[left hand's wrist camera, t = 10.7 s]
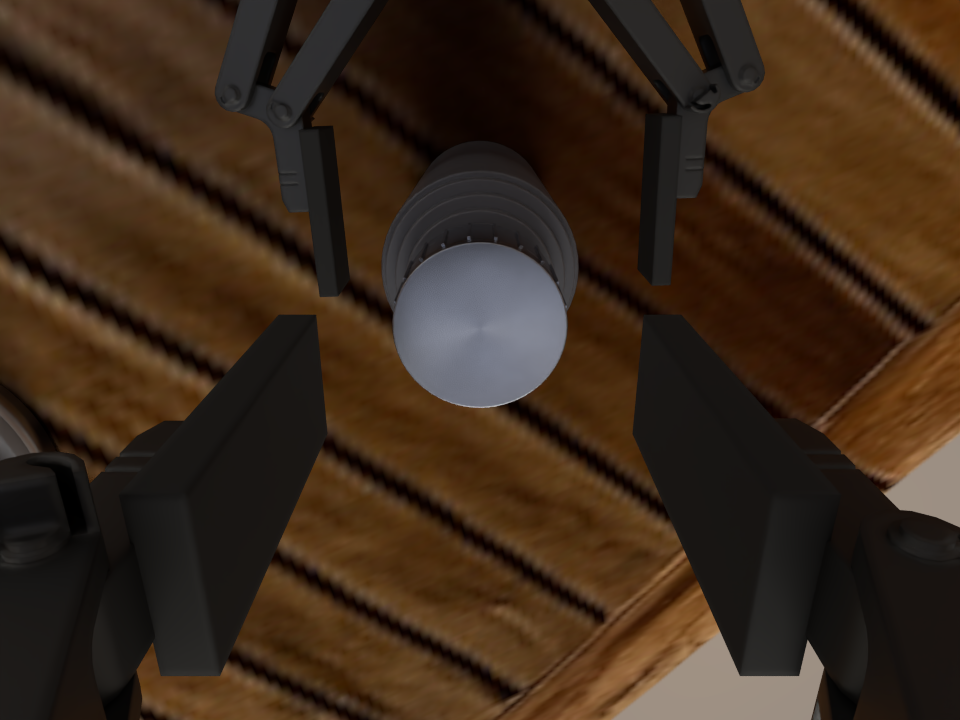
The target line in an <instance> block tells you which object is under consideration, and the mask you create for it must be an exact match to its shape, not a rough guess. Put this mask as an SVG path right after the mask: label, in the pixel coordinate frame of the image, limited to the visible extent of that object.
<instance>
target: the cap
mask: <svg viewBox="0 0 960 720" xmlns="http://www.w3.org/2000/svg"><path fill="white" fill-rule="evenodd" d="M403 281H404V282H402V283H401V285H400V288H399V290H398V293H397V295H396V298H395V300H394V304H395V307H394V312H393V320H392V322H393V325H392V328H393V337H394V343H395V346H396V349H397V353H398V355H399V357H400V359H401V362H402V363H403V365H404V367H405V368H406V370H407V371H408V373H409V374H410V375H411V376H412V377H413V379H414V380H415V381H416V382H417V383H418V384H419V385H421V386H422V387H423V388H424V389H426V390H427V391H428V392H430V393H431V394H433V395H435V396H436V397H438V398H440V399H442V400H445V401H447V402H450V403H453V404H456V405H460V406H466V407H477V408H485V407H495V406H499V405H504V404H507V403H510V402H513V401H516V400H518V399H520V398H522V397H524V396H526V395H527V394H529V393H530V392H532V391H533V390H535V389H536V388H537V387H538V386H539V385H541V384H542V383H543V382H544V381H545V380H546V379H547V377H548V376H549V375H550V374H551V372H552V371H553V370H554V368H555V367H556V365H557V363H558V361H559V359H560V358H561V355H562V352H563V350H564V347H565V342H566V338H567V328H568V323H567V312H566V308H567V305H566V302H565V300H564V297H563V295H562V292H561V290H560V287H559V286H558V285H559V284H560V283H559V281H558V278H557V276H556V274H555V271H554V269H553V266H552V264H550V265H549V263H548V261H547V260H546V258H545V257H544V256H543V254H542V253H541V251H540V249H539V246H538V245H536V246H535V245H534V244H532V243H531V242H530V241H529V240H528V239H526V238H525V237H523V236H522V235H520V233H519V232H518V231H516V232H514V231H512V230H510V229H507V228H504V227H501V226H497V225H496V223H493V225H491V224H471V223H468V225H464V226H459V227H456V228H453V229H450V230H448V229H446V230H444V233H442V234H440V235H438V236H437V237H435V238H434V239H432V240H431V241H430V242H429V243H427V242H426V243H425V244H424V246H423V248H422V249H421V251H420V252H419V253H418V254H417V255H416V257H415V258H414V260H413V261H412V260H411V261H410V262H409V265H408V267H407V270H406V272H405V275H404V277H403Z"/></svg>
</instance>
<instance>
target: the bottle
mask: <svg viewBox="0 0 960 720" xmlns="http://www.w3.org/2000/svg"><path fill="white" fill-rule="evenodd" d="M468 223H471V224H491V225H493V223H496V225H497V226H501V227H504V228H507V229H510V230H512V231H514V232H516V231H518V232H519V233H520V235H522V236H523V237H525V238H526V239H528V240H529V241H530V242H531V243H532V244H534V245H535V246H536V245H538V246H539V249H540V251H541V253H542V254H543V256H544V257H545V258H546V260H547V261H548V263H549V265H550V264H552V266H553V269H554V271H555V274H556V276H557V278H558V281H559V283H560V284H559V285H558V286H559V287H560V290H561V292H562V295H563V297H564V300H565V302H566V305H567V308H566V312H567V310H568V308H569V306H570V304H571V302H572V299H573V296H574V294H575V289H576V285H577V280H578V253H577V248H576V243H575V240H574V237H573V234H572V231H571V229H570V227H569V224H568V222H567V220H566V219H565V217H564V216H563V214H562V213H561V211H560V209H559V208H558V206H557V205H556V203H555V202H554V200H553V199H552V197H551V196H550V194H549V193H548V191H547V190H546V188H545V187H544V185H543V184H542V182H541V181H540V179H539V178H538V176H537V175H536V173H535V172H534V170H533V169H532V167H531V166H530V165H529V163H528V162H527V161H526V160H525V159H524V158H523V157H522V156H520V155H519V154H518V153H517V152H515V151H514V150H512V149H510V148H508V147H506V146H504V145H501V144H498V143H495V142H489V141H471V142H466V143H462V144H459V145H456V146H454V147H452V148H450V149H448V150H446V151H445V152H443V153H442V154H441V155H439V156H438V157H437V158H436V159H435V160H434V161H433V162H432V163H431V165H430V166H429V167H428V169H427V170H426V171H425V173H424V174H423V176H422V177H421V179H420V180H419V182H418V184H417V185H416V187H415V188H414V190H413V191H412V193H411V194H410V196H409V197H408V199H407V200H406V202H405V203H404V205H403V206H402V208H401V209H400V211H399V212H398V214H397V215H396V217H395V219H394V221H393V222H392V224H391V226H390V229H389V231H388V234H387V236H386V240H385V244H384V247H383V254H382V279H383V285H384V289H385V293H386V296H387V299H388V302H389V304H390V306H391V308H392V311H393V312H394V307H395V304H394V300H395V298H396V295H397V293H398V290H399V288H400V285H401V283H402V282H404V281H403V277H404V275H405V272H406V270H407V267H408V265H409V262H410V261H411V260H412V261H413V260H414V258H415V257H416V255H417V254H418V253H419V252H420V251H421V249H422V248H423V246H424V244H425V243H426V242H427V243H429V242H430V241H431V240H432V239H434V238H435V237H437V236H438V235H440V234H442V233H444V230H446V229H448V230H450V229H453V228H456V227H459V226H464V225H468Z"/></svg>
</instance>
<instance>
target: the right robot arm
mask: <svg viewBox="0 0 960 720" xmlns="http://www.w3.org/2000/svg"><path fill="white" fill-rule="evenodd" d="M387 2H388V0H331V1H330V3H329V5H328V6H327V8H326V9H325V11H324V13H323V14H322V16H321V17H320V19H319V21H318V22H317V24H316V25H315V27H314V29H313V30H312V32H311V33H310V35H309V36H308V38H307V40H306V41H305V43H304V44H303V46H302V48H301V49H300V51H299V52H298V54H297V56H296V57H295V59H294V60H293V62H292V64H291V65H290V67H289V68H288V70H287V72H286V73H285V75H284V76H283V78H282V80H281V81H280V83H279V84H278V86H277V87H274V86H271V83H272V80H273V76H274V73H275V70H276V67H277V64H278V61H279V57H280V54H281V51H282V48H283V45H284V41H285V38H286V35H287V32H288V29H289V26H290V22H291V19H292V16H293V13H294V10H295V6H296V3H297V0H240V3H239V7H238V10H237V14H236V17H235V21H234V24H233V28H232V31H231V35H230V38H229V42H228V45H227V49H226V52H225V56H224V59H223V63H222V66H221V70H220V73H219V77H218V80H217V84H216V87H215V96H216V100H217V102H218V103H219V104H220V106H221V107H223V108H224V109H225V110H227V111H232V112H239V113H242V114H245V115H248V116H251V117H254V118H257V119H259V120H261V121H263V122H264V123H265V124H266V125H267V126H268V127H269V128H270V130H271V132H272V134H273V138H274V145H275V152H276V159H277V166H278V173H279V180H280V184H281V186H280V187H281V194H282V200H283V202H284V204H285V206H286V207H287V209H288V211H289V212H309V216H310V224H311V232H312V240H313V247H314V255H315V263H316V271H317V278H318V286H319V294H320V297H334V296H339V294H340V293H341V291H342V290H343V288H344V287H345V286H346V284H347V283H348V281H349V280H350V276H349V267H348V258H347V249H346V240H345V231H344V222H343V213H342V204H341V195H340V186H339V176H338V167H337V158H336V149H335V140H334V131H333V126H314V127H312V123H311V122H312V121H313V120H314V119H315V118H313V117H312V116H313V115H314V113H315V112H316V110H317V109H318V107H319V106H320V104H321V103H322V101H323V100H324V98H325V97H326V95H327V93H328V92H329V90H330V89H331V87H332V86H333V84H334V83H335V81H336V80H337V78H338V77H339V75H340V74H341V72H342V71H343V69H344V67H345V66H346V64H347V63H348V61H349V60H350V58H351V57H352V55H353V54H354V52H355V51H356V49H357V48H358V46H359V45H360V43H361V41H362V40H363V38H364V37H365V35H366V34H367V32H368V31H369V29H370V28H371V26H372V25H373V23H374V22H375V20H376V19H377V17H378V16H379V14H380V12H381V11H382V9H383V8H384V6H385V5H386V3H387ZM589 2H590V3H591V4H592V6H593V7H594V8H595V10H596V11H597V12H598V14H599V15H600V16H601V18H602V19H603V20H604V22H605V23H606V24H607V26H608V27H609V28H610V30H611V31H612V32H613V34H614V35H615V36H616V38H617V39H618V40H619V41H620V43H621V44H622V45H623V47H624V48H625V49H626V51H627V52H628V53H629V55H630V56H631V57H632V59H633V60H634V61H635V63H636V64H637V65H638V67H639V68H640V69H641V71H642V72H643V73H644V75H645V76H646V77H647V79H648V80H649V81H650V83H651V84H652V85H653V87H654V88H655V89H656V91H657V92H658V93H659V95H660V96H661V97H662V98H663V100H664V101H665V102H666V104H667V105H668V107H667V114H666V113H657V114H646V119H645V138H644V157H643V176H642V195H641V214H640V233H639V252H638V270H639V271H640V272H641V274H642V275H643V276H644V277H645V278H646V279H647V280H648V282H649V283H650V284H651V285H652V286H653V285H670V284H671V270H672V256H673V242H674V228H675V214H676V200H677V198H696V196H697V194H698V192H699V190H700V188H701V186H702V180H703V168H704V156H705V145H706V133H707V122H708V117H709V115H710V112H711V111H712V110H713V109H714V108H715V107H716V106H717V104H718V103H720V102H722V101H724V100H726V99H729V98H731V97H734V96H736V95H739V94H741V93H743V92H750V91H753V90H755V89H756V88H757V87H758V86H760V84H761V82H762V81H763V78H764V74H765V71H764V65H763V62H762V59H761V57H760V54H759V51H758V48H757V45H756V43H755V40H754V37H753V34H752V31H751V28H750V26H749V23H748V20H747V17H746V14H745V12H744V9H743V6H742V3H741V0H680V2H681V4H682V7H683V10H684V12H685V15H686V17H687V20H688V23H689V25H690V28H691V30H692V33H693V36H694V38H695V41H696V43H697V46H698V49H699V51H700V54H701V56H702V59H703V62H704V64H705V67H706V69H704V70H701V69H700V68H699V66H698V65H697V63H696V62H695V61H694V59H693V58H692V57H691V55H690V54H689V52H688V51H687V50H686V48H685V47H684V45H683V44H682V43H681V41H680V40H679V39H678V37H677V36H676V34H675V33H674V32H673V30H672V29H671V28H670V26H669V25H668V23H667V22H666V21H665V19H664V18H663V16H662V15H661V14H660V12H659V11H658V10H657V8H656V7H655V5H654V4H653V3H652V1H651V0H589Z"/></svg>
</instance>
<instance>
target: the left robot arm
mask: <svg viewBox="0 0 960 720" xmlns="http://www.w3.org/2000/svg"><path fill="white" fill-rule="evenodd" d="M326 436H327V425H326V414H325V404H324V393H323V382H322V372H321V361H320V351H319V340H318V330H317V319H316V315H278V316H277V318H276V319H275V320H274V321H273V322H272V323H271V324H270V325H269V326H268V328H267V329H266V330H265V331H264V332H263V333H262V334H261V335H260V337H259V338H258V339H257V340H256V341H255V342H254V343H253V344H252V346H251V347H250V348H249V349H248V350H247V351H246V352H245V353H244V355H243V356H242V357H241V358H240V359H239V360H238V361H237V362H236V363H235V365H234V366H233V367H232V368H231V369H230V370H229V371H228V372H227V374H226V375H225V376H224V377H223V378H222V379H221V380H220V381H219V383H218V384H217V385H216V386H215V387H214V388H213V389H212V390H211V392H210V393H209V394H208V395H207V396H206V397H205V398H204V399H203V400H202V402H201V403H200V404H199V405H198V406H197V407H196V408H195V409H194V411H193V412H192V413H191V414H190V415H189V416H188V417H187V418H186V420H185V421H163V422H162V423H160V424H158V425H156V426H154V427H153V428H151V429H149V430H147V431H145V432H143V433H142V434H140V435H138V436H137V437H136V438H135V439H134V440H133V441H132V442H131V443H130V444H129V445H128V446H127V447H126V448H125V449H124V450H123V451H122V452H121V453H120V457H116V458H115V459H114V460H113V461H112V462H111V463H110V464H109V465H108V466H107V467H106V468H105V472H101V473H100V474H99V475H98V476H97V477H96V478H95V479H94V480H93V481H92V482H91V483H89V479H88V475H87V471H86V467H85V463H84V461H83V460H82V459H80V458H79V457H77V456H76V455H74V454H70V453H63V452H56V450H55V447H54V445H53V443H52V442H51V440H50V438H49V436H48V434H47V433H46V431H45V430H44V428H43V427H42V425H41V424H40V423H39V421H38V420H37V419H36V418H35V416H34V415H33V414H32V413H31V412H30V410H29V409H28V408H27V407H26V406H25V405H24V404H23V403H22V402H21V401H20V400H19V399H18V398H17V397H15V396H14V395H13V394H12V393H11V392H10V391H8V390H7V389H6V388H5V387H3V386H2V385H1V384H0V720H139V719H140V712H141V704H142V694H141V688H140V683H139V679H138V675H137V671H136V670H137V668H138V666H139V664H140V663H141V661H142V659H143V658H144V656H145V654H146V653H147V651H148V649H149V648H150V646H151V644H152V643H153V644H154V648H155V653H156V657H157V661H158V665H159V670H160V674H161V676H220V675H221V672H222V670H223V668H224V666H225V663H226V661H227V659H228V657H229V654H230V652H231V650H232V648H233V645H234V643H235V641H236V639H237V636H238V634H239V632H240V630H241V627H242V625H243V623H244V621H245V618H246V616H247V614H248V612H249V609H250V607H251V605H252V603H253V600H254V598H255V596H256V593H257V591H258V589H259V587H260V584H261V582H262V580H263V578H264V575H265V573H266V571H267V569H268V566H269V564H270V562H271V560H272V557H273V555H274V553H275V551H276V548H277V546H278V544H279V542H280V539H281V537H282V535H283V533H284V530H285V528H286V526H287V524H288V521H289V519H290V517H291V515H292V512H293V510H294V508H295V506H296V503H297V501H298V499H299V497H300V494H301V492H302V490H303V487H304V485H305V483H306V481H307V478H308V476H309V474H310V472H311V469H312V467H313V465H314V463H315V460H316V458H317V456H318V454H319V451H320V449H321V447H322V445H323V442H324V440H325V438H326ZM633 436H634V438H635V440H636V442H637V445H638V447H639V449H640V451H641V454H642V456H643V458H644V460H645V463H646V465H647V467H648V469H649V472H650V474H651V476H652V478H653V481H654V483H655V485H656V487H657V490H658V492H659V494H660V497H661V499H662V501H663V503H664V506H665V508H666V510H667V512H668V515H669V517H670V519H671V521H672V524H673V526H674V528H675V530H676V533H677V535H678V537H679V539H680V542H681V544H682V546H683V548H684V551H685V553H686V555H687V557H688V560H689V562H690V564H691V566H692V569H693V571H694V573H695V575H696V578H697V580H698V582H699V584H700V587H701V589H702V591H703V594H704V596H705V598H706V600H707V603H708V605H709V607H710V609H711V612H712V614H713V616H714V618H715V621H716V623H717V625H718V627H719V630H720V632H721V634H722V636H723V639H724V641H725V643H726V645H727V647H728V650H729V652H730V654H731V657H732V659H733V661H734V663H735V666H736V668H737V670H738V672H739V675H740V676H799V674H800V670H801V665H802V661H803V657H804V653H805V648H806V644H807V640H808V641H809V642H810V644H811V646H812V647H813V649H814V651H815V652H816V654H817V656H818V657H819V659H820V661H821V663H822V664H823V666H824V671H823V675H822V679H821V683H820V687H819V691H818V695H817V699H816V703H815V707H814V711H813V715H812V719H811V720H960V527H958V526H955V525H953V524H951V523H948V522H946V521H944V520H941V519H939V518H936V517H933V516H929V515H925V514H921V513H917V512H913V511H904V510H899V509H898V508H897V507H896V506H895V505H894V504H893V503H892V502H891V501H890V500H889V499H888V498H887V497H886V496H885V495H884V494H883V493H882V492H881V491H880V490H879V489H878V488H877V487H876V486H875V485H874V484H873V483H872V482H871V481H870V480H869V479H868V478H867V477H866V476H865V475H864V474H863V473H862V472H861V471H860V470H859V469H855V465H854V464H853V463H852V462H851V461H850V460H849V459H848V458H847V457H846V456H845V455H844V454H841V451H840V450H839V449H838V448H837V447H836V446H835V445H834V444H833V443H832V442H831V441H830V440H829V439H828V438H827V437H826V436H825V435H824V434H823V433H821V432H820V431H818V430H816V429H814V428H812V427H810V426H808V425H807V424H805V423H803V422H801V421H799V420H797V419H774V418H773V417H772V416H771V415H770V414H769V413H768V412H767V411H766V409H765V408H764V407H763V406H762V405H761V404H760V403H759V402H758V400H757V399H756V398H755V397H754V396H753V395H752V394H751V393H750V392H749V390H748V389H747V388H746V387H745V386H744V385H743V384H742V383H741V381H740V380H739V379H738V378H737V377H736V376H735V375H734V374H733V372H732V371H731V370H730V369H729V368H728V367H727V366H726V365H725V363H724V362H723V361H722V360H721V359H720V358H719V357H718V356H717V355H716V353H715V352H714V351H713V350H712V349H711V348H710V347H709V346H708V344H707V343H706V342H705V341H704V340H703V339H702V338H701V337H700V335H699V334H698V333H697V332H696V331H695V330H694V329H693V328H692V326H691V325H690V324H689V323H688V322H687V321H686V320H685V319H684V318H683V316H682V315H644V319H643V330H642V340H641V351H640V361H639V372H638V382H637V393H636V404H635V414H634V425H633Z"/></svg>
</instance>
